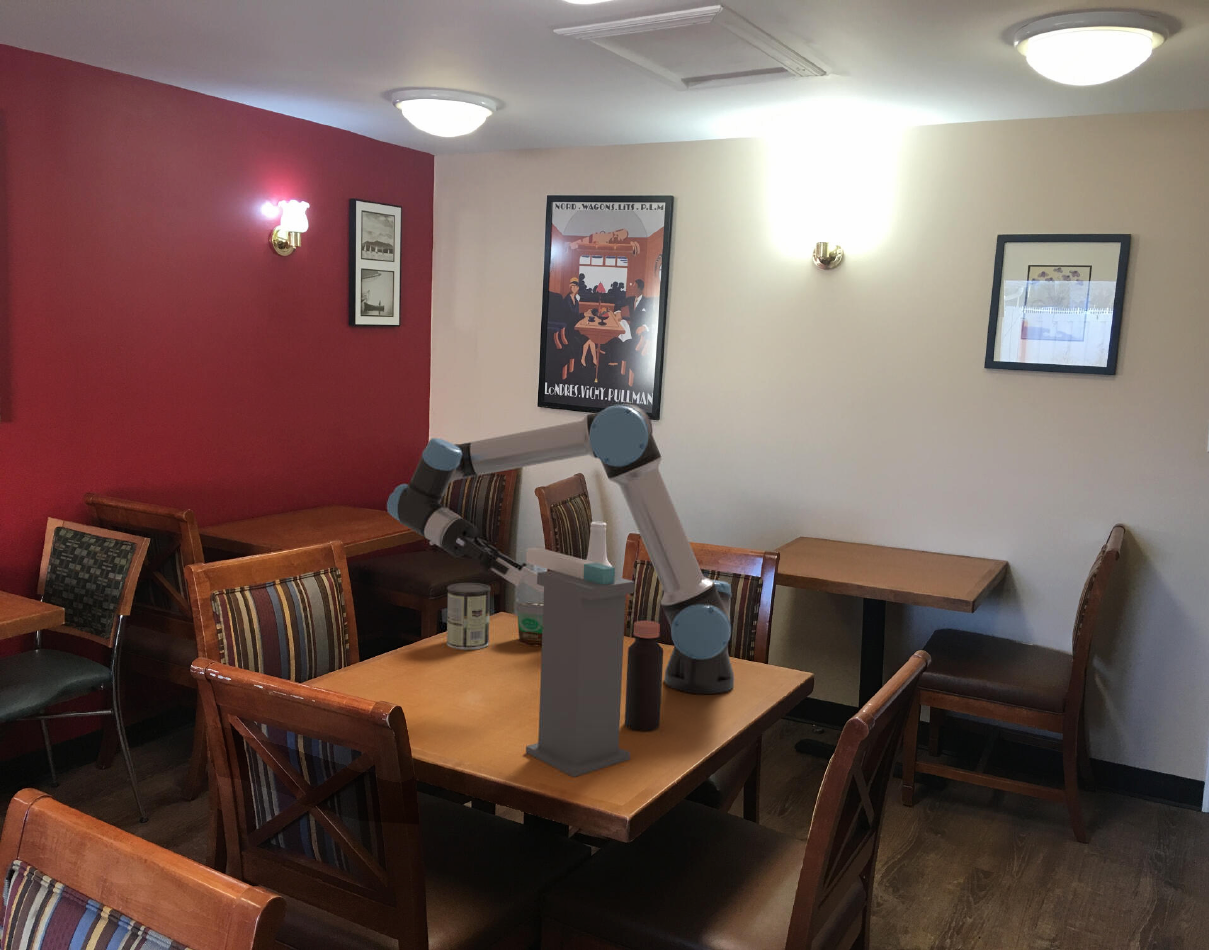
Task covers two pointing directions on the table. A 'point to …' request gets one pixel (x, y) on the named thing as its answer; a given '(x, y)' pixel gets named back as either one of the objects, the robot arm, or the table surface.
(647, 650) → the bottle
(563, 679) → the shelf stand
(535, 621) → the food container
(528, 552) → the beige teal square bar
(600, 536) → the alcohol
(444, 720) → the table surface
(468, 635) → the coffee can
